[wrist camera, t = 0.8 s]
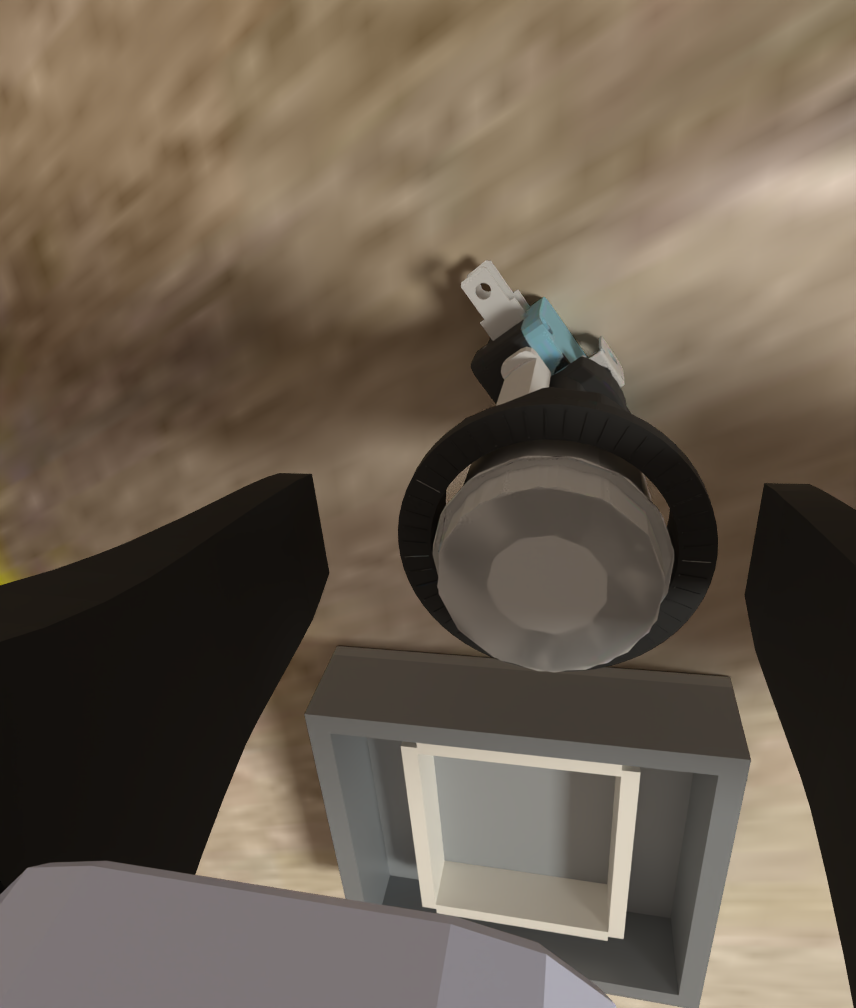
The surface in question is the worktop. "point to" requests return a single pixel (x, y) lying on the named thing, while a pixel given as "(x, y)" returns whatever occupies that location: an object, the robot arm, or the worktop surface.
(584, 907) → the cream rectangular frame
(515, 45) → the worktop surface
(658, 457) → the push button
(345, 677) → the grey square tray
